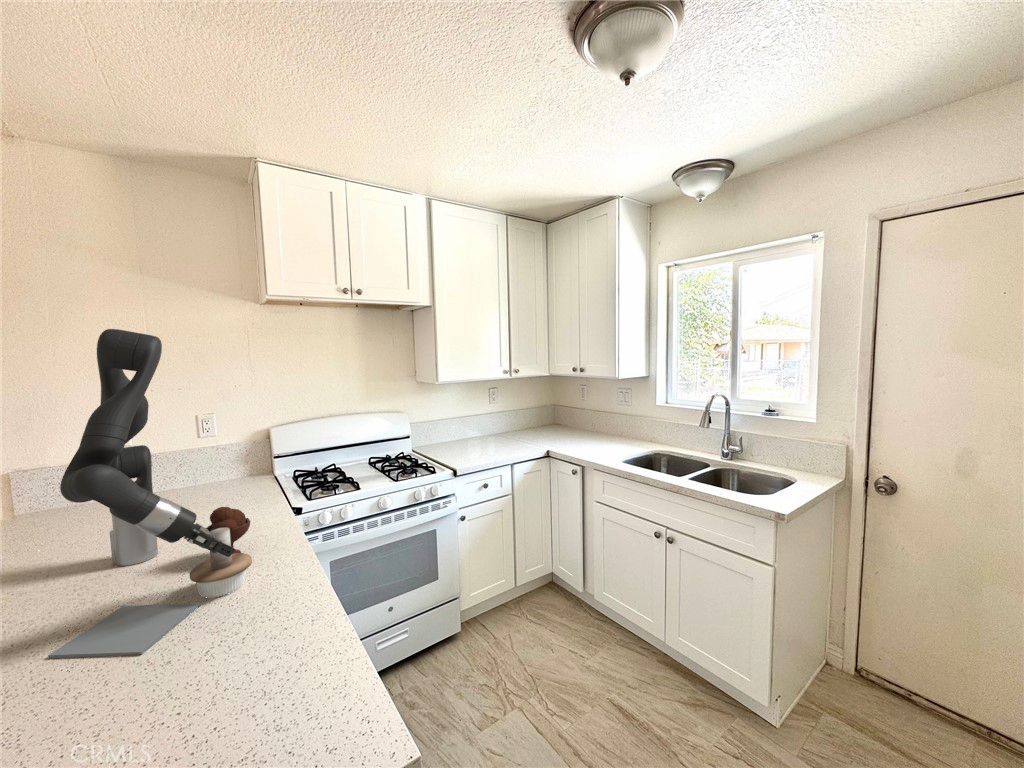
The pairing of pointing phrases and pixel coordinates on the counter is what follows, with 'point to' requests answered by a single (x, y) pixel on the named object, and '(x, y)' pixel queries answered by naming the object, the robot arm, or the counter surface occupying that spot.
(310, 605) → the counter surface
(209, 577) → the lid
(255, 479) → the counter surface
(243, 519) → the ice cream bowl
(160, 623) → the mat
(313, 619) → the counter surface
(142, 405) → the robot arm
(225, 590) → the ramekin
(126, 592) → the counter surface
